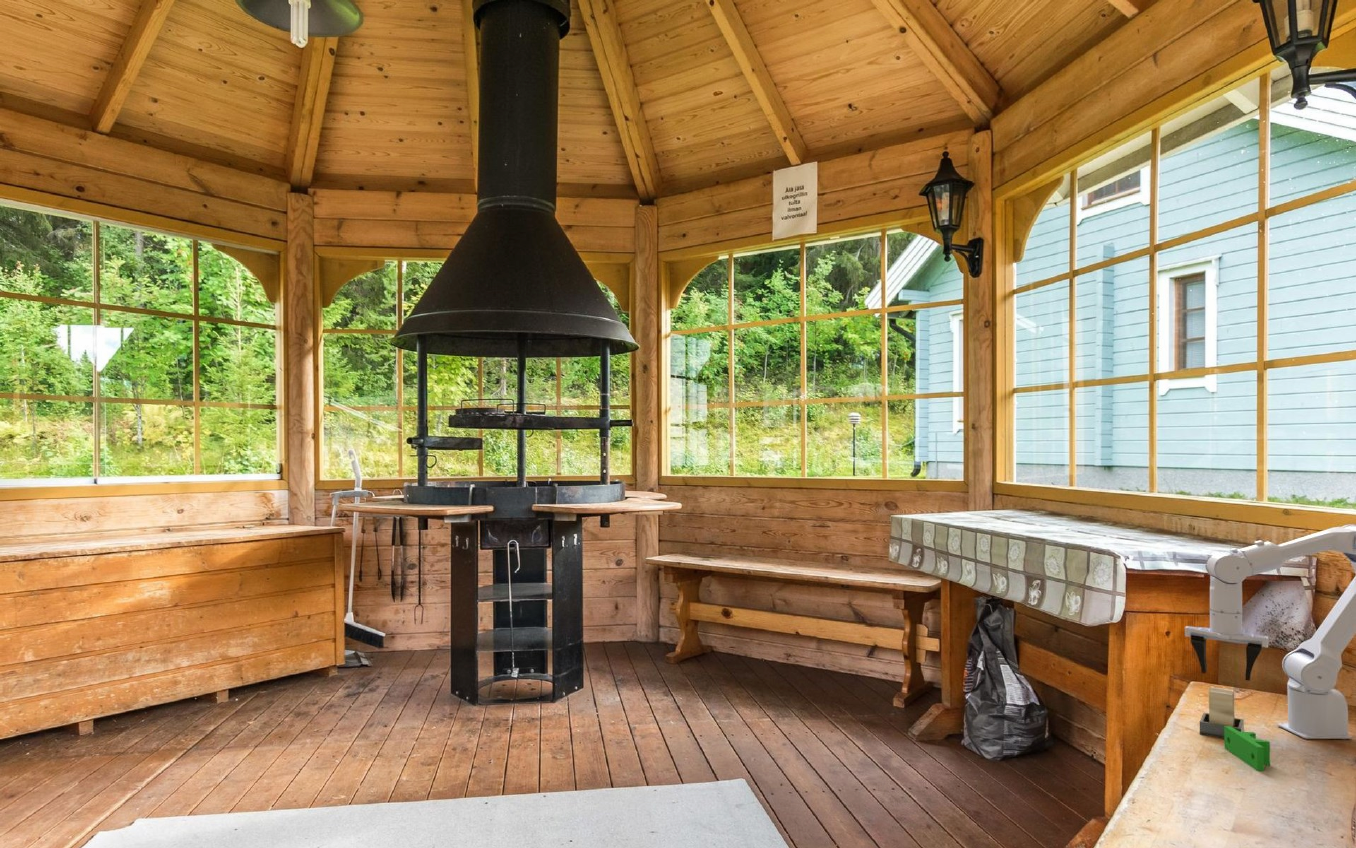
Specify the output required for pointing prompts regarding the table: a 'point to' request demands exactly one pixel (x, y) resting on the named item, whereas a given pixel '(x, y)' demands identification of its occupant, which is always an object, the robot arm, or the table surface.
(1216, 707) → the rail post
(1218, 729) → the dark gray open tray
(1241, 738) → the pipe clamp
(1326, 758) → the table surface
